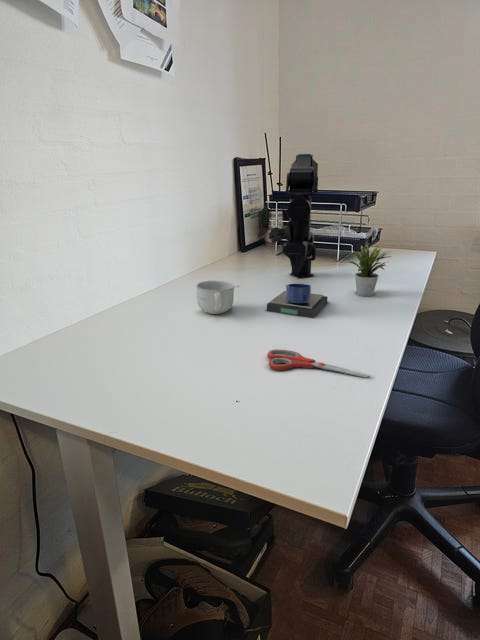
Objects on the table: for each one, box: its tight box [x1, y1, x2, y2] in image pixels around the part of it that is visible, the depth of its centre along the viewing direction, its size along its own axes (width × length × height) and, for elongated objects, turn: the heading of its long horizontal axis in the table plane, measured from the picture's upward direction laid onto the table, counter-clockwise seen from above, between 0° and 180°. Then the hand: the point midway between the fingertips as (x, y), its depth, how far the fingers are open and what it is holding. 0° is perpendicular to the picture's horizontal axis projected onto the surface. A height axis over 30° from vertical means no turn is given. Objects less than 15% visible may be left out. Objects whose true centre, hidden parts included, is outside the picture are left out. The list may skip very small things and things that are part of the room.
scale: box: [266, 290, 329, 319], centre depth 118 cm, size 14×14×2 cm
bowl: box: [285, 283, 312, 303], centre depth 113 cm, size 7×7×4 cm
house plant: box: [347, 243, 393, 297], centre depth 125 cm, size 14×14×16 cm
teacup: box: [195, 280, 235, 315], centre depth 114 cm, size 14×11×8 cm
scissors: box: [266, 348, 370, 379], centre depth 84 cm, size 8×21×2 cm, turn 78°
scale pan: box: [270, 290, 325, 309], centre depth 118 cm, size 12×12×1 cm
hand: (298, 271), depth 116 cm, fingers open, 9 cm apart
